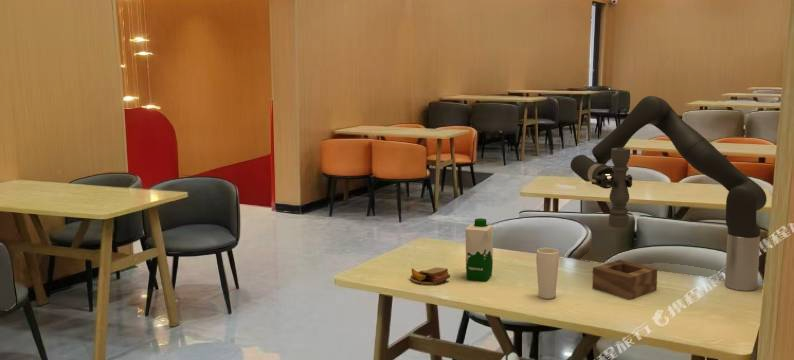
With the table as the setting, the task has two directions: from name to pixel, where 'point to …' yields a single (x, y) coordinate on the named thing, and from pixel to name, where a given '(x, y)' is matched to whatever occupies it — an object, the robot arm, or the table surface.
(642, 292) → the bore block
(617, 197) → the candle holder
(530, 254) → the table surface
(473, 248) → the milk carton
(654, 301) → the table surface
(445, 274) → the toy sandwich meal
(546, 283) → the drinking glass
